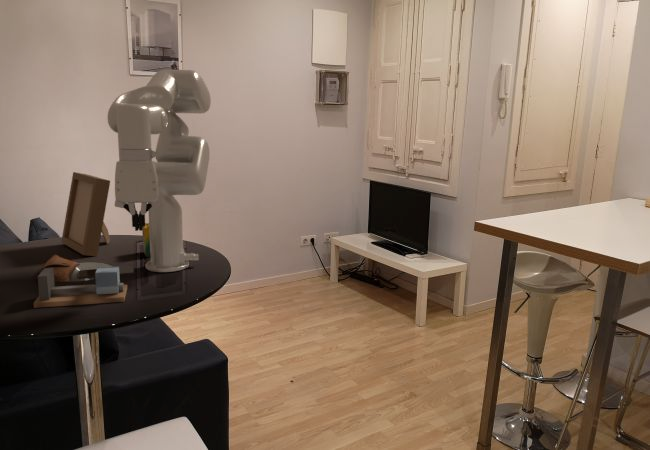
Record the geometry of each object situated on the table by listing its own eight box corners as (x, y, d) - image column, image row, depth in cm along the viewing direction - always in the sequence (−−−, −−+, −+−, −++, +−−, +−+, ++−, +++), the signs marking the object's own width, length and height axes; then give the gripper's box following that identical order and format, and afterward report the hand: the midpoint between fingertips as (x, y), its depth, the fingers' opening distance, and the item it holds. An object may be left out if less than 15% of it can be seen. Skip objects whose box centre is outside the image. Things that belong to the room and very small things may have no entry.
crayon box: (143, 252, 176) (141, 217, 174) (152, 251, 177) (150, 217, 175) (145, 257, 170) (143, 222, 167) (155, 256, 171) (153, 221, 168)
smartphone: (133, 268, 159) (78, 272, 153) (133, 265, 159) (78, 270, 153) (134, 275, 152) (77, 280, 146) (134, 272, 152) (77, 277, 146)
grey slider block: (120, 286, 136) (118, 266, 135) (118, 293, 132) (117, 272, 130) (99, 287, 135) (98, 267, 134) (96, 294, 130) (95, 273, 129)
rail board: (127, 288, 139) (126, 277, 139) (124, 301, 130) (123, 290, 129) (43, 293, 134) (42, 282, 133) (34, 307, 125) (32, 295, 124)
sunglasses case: (70, 280, 145) (55, 261, 143) (47, 294, 144) (31, 275, 142) (81, 263, 162) (67, 245, 159) (60, 275, 161) (46, 258, 158)
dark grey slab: (55, 290, 133) (53, 267, 132) (49, 299, 127) (46, 276, 125) (46, 291, 133) (44, 268, 131) (39, 300, 126) (37, 276, 125)
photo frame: (83, 258, 167) (77, 179, 162) (61, 244, 183) (55, 172, 178) (129, 250, 177) (125, 176, 172) (104, 238, 193) (100, 170, 188)
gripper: (167, 155, 134) (170, 225, 138) (104, 154, 130) (108, 227, 134) (167, 157, 127) (170, 231, 131) (100, 157, 123) (105, 234, 127)
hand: (139, 229), depth 132 cm, fingers closed
